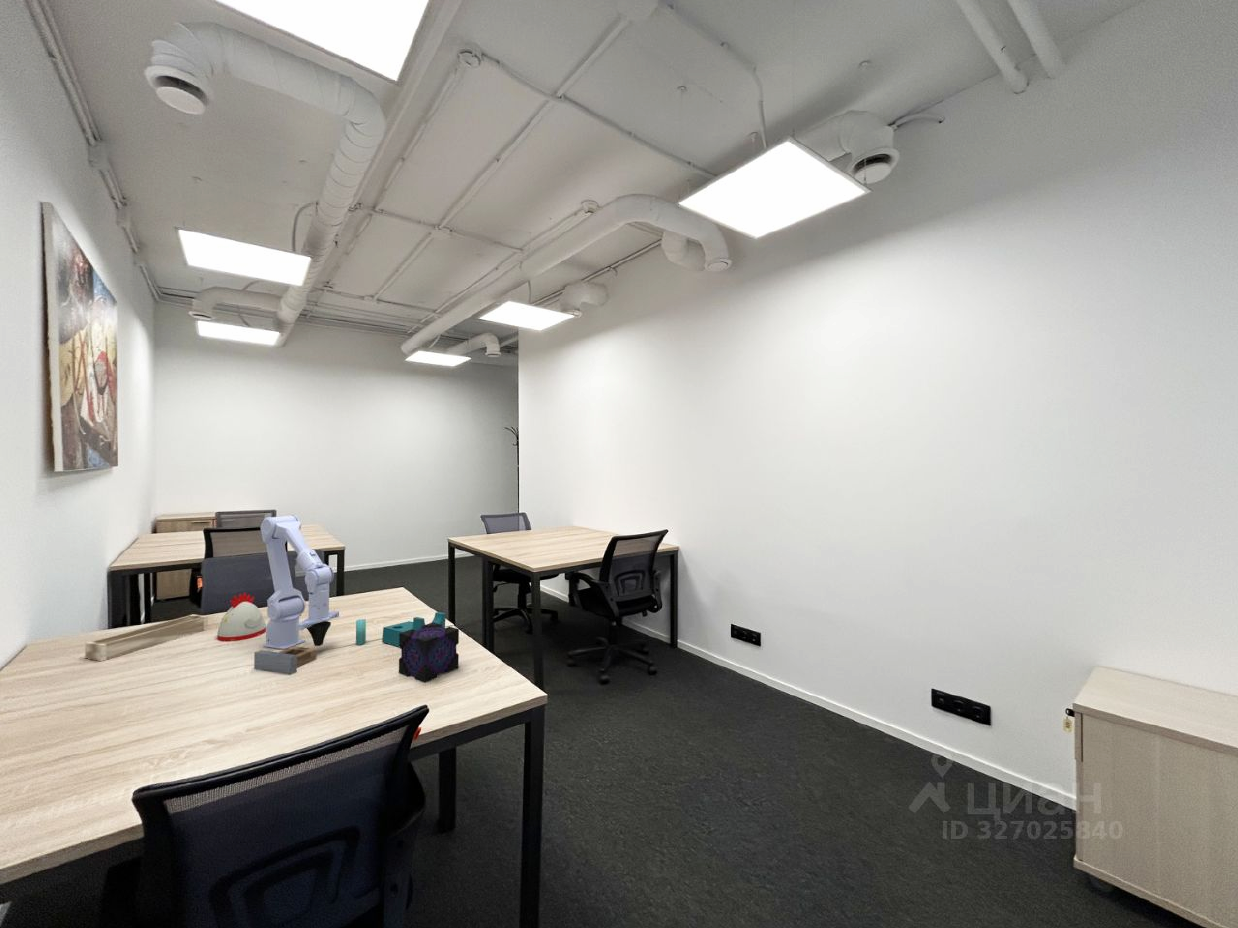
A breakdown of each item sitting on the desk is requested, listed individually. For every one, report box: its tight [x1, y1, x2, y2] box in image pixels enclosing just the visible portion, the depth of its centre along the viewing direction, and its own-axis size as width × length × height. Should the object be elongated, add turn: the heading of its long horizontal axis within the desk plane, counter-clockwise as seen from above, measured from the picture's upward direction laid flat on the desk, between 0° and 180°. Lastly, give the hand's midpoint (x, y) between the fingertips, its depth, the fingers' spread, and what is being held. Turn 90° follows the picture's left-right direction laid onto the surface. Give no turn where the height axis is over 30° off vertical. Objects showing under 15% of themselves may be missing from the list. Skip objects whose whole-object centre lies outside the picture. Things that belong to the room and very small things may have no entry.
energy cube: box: [398, 621, 460, 684], centre depth 146 cm, size 12×12×12 cm
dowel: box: [355, 618, 367, 646], centre depth 167 cm, size 3×3×8 cm
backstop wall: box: [253, 649, 298, 675], centre depth 145 cm, size 14×2×5 cm, turn 75°
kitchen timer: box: [216, 592, 267, 643], centre depth 174 cm, size 14×14×15 cm
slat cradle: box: [84, 614, 209, 662], centre depth 166 cm, size 7×30×5 cm, turn 165°
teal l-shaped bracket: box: [381, 611, 447, 647], centre depth 169 cm, size 18×11×10 cm, turn 63°
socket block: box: [278, 645, 317, 668], centre depth 150 cm, size 9×9×3 cm
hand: (318, 645), depth 159 cm, fingers closed
